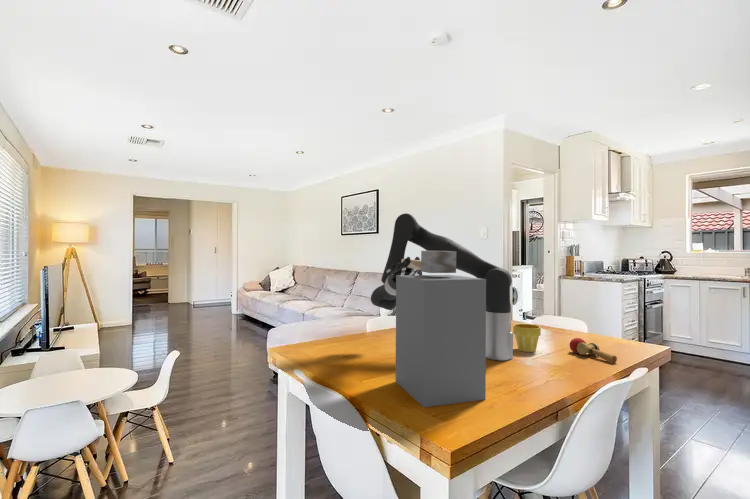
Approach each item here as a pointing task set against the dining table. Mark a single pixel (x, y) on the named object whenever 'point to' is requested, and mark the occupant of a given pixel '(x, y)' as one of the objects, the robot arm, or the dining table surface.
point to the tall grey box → (441, 338)
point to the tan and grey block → (435, 262)
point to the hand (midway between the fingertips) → (413, 259)
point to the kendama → (590, 350)
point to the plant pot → (527, 336)
